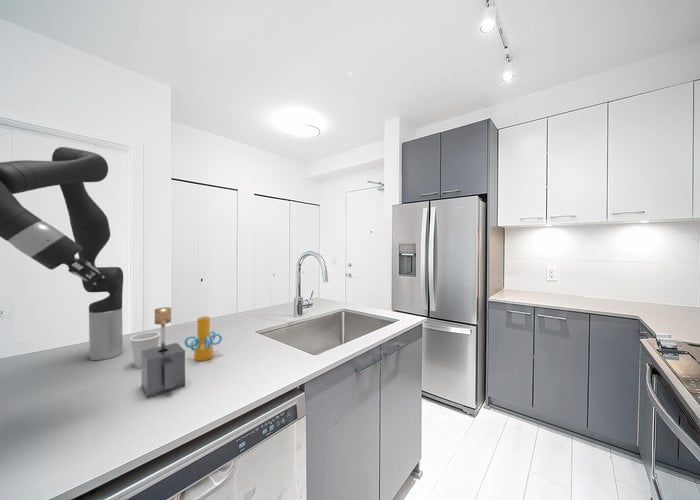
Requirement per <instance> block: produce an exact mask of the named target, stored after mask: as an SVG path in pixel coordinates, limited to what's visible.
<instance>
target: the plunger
mask: <svg viewBox="0 0 700 500" xmlns="http://www.w3.org/2000/svg"><path fill="white" fill-rule="evenodd" d="M170 323H172V307H170V306H169V307H167V306H166V307H165V306H164V307H159V308H155V309H154V324H155V325H160V346H161V352H165V345H166V325H167V324H170Z"/></svg>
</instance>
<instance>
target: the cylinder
mask: <svg viewBox="0 0 700 500" xmlns="http://www.w3.org/2000/svg"><path fill="white" fill-rule="evenodd" d="M196 319H197V322H196V323H197V325H196V326H197V328H196V329H197V333H196V335H197V336H195V335H190V336H187V337H186V338H185V340H184V345H185V346H186V348H190V350H191V351H193V352H194V356H193V357H194V361H196V362H204V361H207V360H210V359H212V358H213V355H214V346H217V345H219V344H221V342H222V340H223V337H222V335H221V334H220V333H216V332H215V331H214V330H211V323H210V320H211V318H210V316H208V315H207V316H206V315H205V316H198V317H197V318H196ZM216 336H217V337H218V338H219V340H218V341H217V342H214V341H215V339H216ZM190 339H192V340H191V342H190V344H188V341H189V340H190Z"/></svg>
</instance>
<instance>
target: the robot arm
mask: <svg viewBox="0 0 700 500" xmlns="http://www.w3.org/2000/svg"><path fill="white" fill-rule="evenodd" d="M108 173H109V165H108V163H107V161H106V159H105V158H104V157H103V156H101V155H100V154H99V153H96V152H92V151H88V150H84V149H77V148H73V147H67V146H60V147H57V148H55V149H54V151H53V153H52V155H51V160H31V159H29V160H28V159H27V160H22V159H21V160H9V161H3V162H2V161H1V162H0V238H2V239H3V240H5V241H7V242H8V243H9V244H10V245H12V247H14V248H15V249H17V250H18V251H20V252H21V253H23V254H25V256H27V257H29V258H30V259H32V260H34V261H35V262H37V263H39V264H41V266H44V267H45V268H46V269H48V270H55V269H56V268H58V267H60V266H61V265H66V266H67V268H68V269H67V271H68V272H69V273H70V274H72V275H74V276H77V277H79V278H80V279H81V283H82V287H83V288H84V290H85V292H87V293H107V294H108V296H106V297H105V298H102V299H99V300H96V301H94V302H92V303H90V304H89V305H88V336H89V337H88V339H89V340H88V343H89V347H88V350H89V351H88V352H89V358H88V359H89V361H90V360H91V361H101V360H108V359H111V358H115V357H118V356H120V355H121V354H122V353H123V351H124V350H123V341H124V339H123V292H124V291H123V289H124V288H123V287H124V271H123V269H122V268H121V267H119V266H105V267H100V266H99V267H97V266H96V259H97V258H98V255H99V254H100V252H102V250H103V248H104V247H105V246H106V245H107V244H108V242H109V241H110V239H111V229H110V225H109V224H110V223H109V219H108V217H107V215H106V214H105V212H104V211H103V210H102V208H101V207H100V206H99V205H98V204H97V203H96V202H95V201H94V199H93V198H92V197H91V196H90V195H89V193H88V192H87V190H86V187H85V183H98V182H101V181H103V180H105V179H106V177H107V176H108ZM54 186H59V188H60V191H61V193H62V195H63V198H64V202H65V205H66V209H67V212H68V213H67V214H68V217H69V222H70V224H69V225H70V228H71V233H72V236H73V239H74V240H72V238H70V237H69V236H67V235H66V234H64V233H63V232H61V231H60V230H58V229H57V228H56V227H54V226H53V225H52V224H49V223H47V222H46V221H44V220H42V219H41V218H40V217H38V216H36V215H35V214H34V213H33V212H31V211H30V210H28V209H27V208H25V207H24V206H23V205H22V204H21V203H20V201H19V200H18V199H17V198H16V197H15V194H21V193H25V192H29V191H33V190H39V189H43V188H48V187H54ZM75 255H78V258H77V257H76V256H75Z"/></svg>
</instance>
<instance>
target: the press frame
mask: <svg viewBox="0 0 700 500" xmlns="http://www.w3.org/2000/svg"><path fill="white" fill-rule="evenodd" d="M141 362H142V367H141V388H142V390H143V392H144V394H145V396H146V398H147V400H148V399H150V398H153V397H156V396H159V395H162V394H165V393H168V392H172V391H174V390H179V389H181V388H184V387H186V350H185V349H184V348H183V347H182V346H181V345H180V344H178V342H175V343H169V344H165V352H161V345H159V346H158V347H156V348H151V349H147V350H142V351H141Z"/></svg>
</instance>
